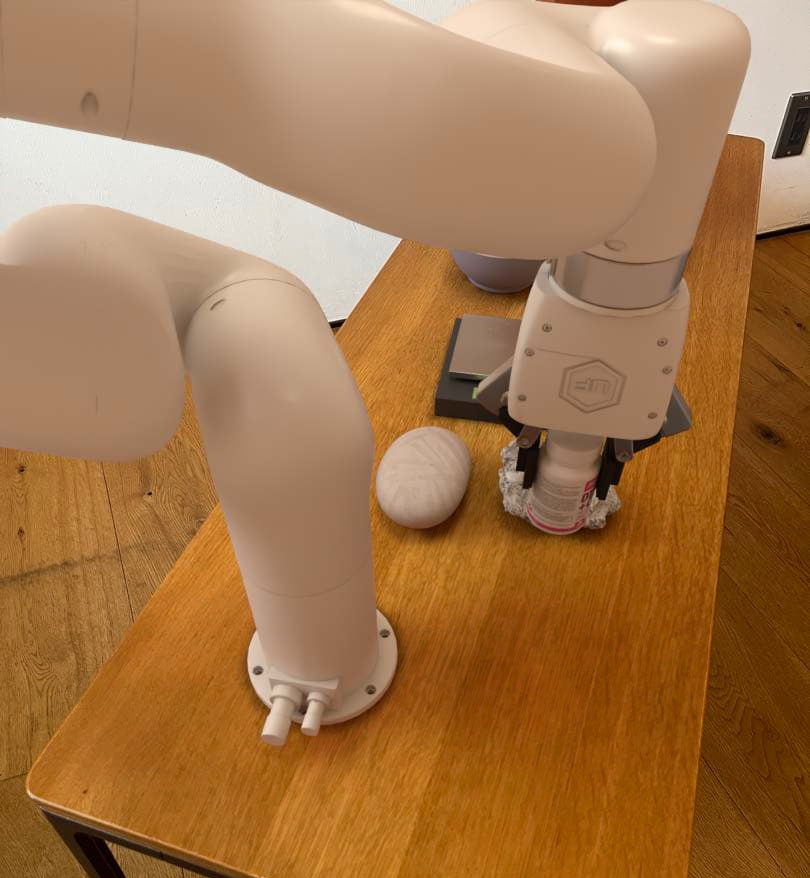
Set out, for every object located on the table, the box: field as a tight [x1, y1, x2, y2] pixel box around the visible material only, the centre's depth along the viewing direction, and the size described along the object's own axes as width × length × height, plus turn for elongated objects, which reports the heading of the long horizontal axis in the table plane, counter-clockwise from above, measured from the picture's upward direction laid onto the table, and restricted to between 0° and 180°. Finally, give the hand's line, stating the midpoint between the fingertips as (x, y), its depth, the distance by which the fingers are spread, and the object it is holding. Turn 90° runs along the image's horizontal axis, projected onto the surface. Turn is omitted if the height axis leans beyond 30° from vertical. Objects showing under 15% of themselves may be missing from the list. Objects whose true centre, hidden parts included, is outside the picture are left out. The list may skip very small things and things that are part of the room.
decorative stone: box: [375, 425, 472, 530], centre depth 77 cm, size 13×9×5 cm
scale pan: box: [449, 313, 522, 381], centre depth 88 cm, size 11×12×1 cm
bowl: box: [448, 249, 546, 294], centre depth 101 cm, size 16×16×10 cm
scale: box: [434, 317, 547, 430], centre depth 89 cm, size 15×14×3 cm
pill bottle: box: [527, 429, 605, 536], centre depth 59 cm, size 5×5×8 cm
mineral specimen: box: [497, 437, 623, 530], centre depth 76 cm, size 6×11×12 cm
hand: (564, 479), depth 59 cm, fingers closed on pill bottle, 4 cm apart
